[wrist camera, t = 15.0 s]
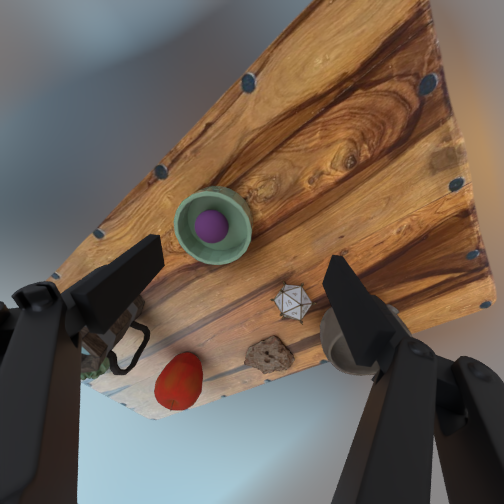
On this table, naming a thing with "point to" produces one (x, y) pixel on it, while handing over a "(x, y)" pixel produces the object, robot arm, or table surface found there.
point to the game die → (293, 302)
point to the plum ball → (211, 226)
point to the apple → (180, 382)
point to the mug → (112, 341)
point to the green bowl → (234, 213)
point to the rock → (269, 356)
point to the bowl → (345, 345)
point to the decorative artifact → (100, 371)
